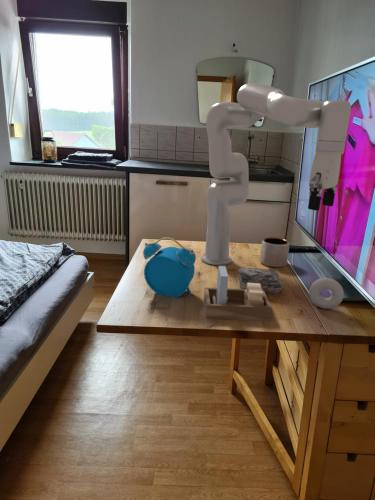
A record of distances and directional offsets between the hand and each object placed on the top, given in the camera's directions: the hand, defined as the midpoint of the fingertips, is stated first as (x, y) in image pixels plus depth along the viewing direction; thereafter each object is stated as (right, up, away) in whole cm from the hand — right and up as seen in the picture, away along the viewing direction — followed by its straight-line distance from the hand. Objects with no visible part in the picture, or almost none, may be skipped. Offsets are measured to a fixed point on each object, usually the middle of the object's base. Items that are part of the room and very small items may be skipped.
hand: (320, 207), depth 112 cm
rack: (-25, -31, 0) cm, 40 cm away
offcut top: (-20, -26, -2) cm, 33 cm away
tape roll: (+3, -31, +5) cm, 31 cm away
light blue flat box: (-30, -30, 0) cm, 42 cm away
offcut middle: (-20, -28, -1) cm, 34 cm away
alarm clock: (-45, -27, +10) cm, 53 cm away
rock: (-15, -27, +15) cm, 34 cm away
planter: (-5, -18, +42) cm, 46 cm away
